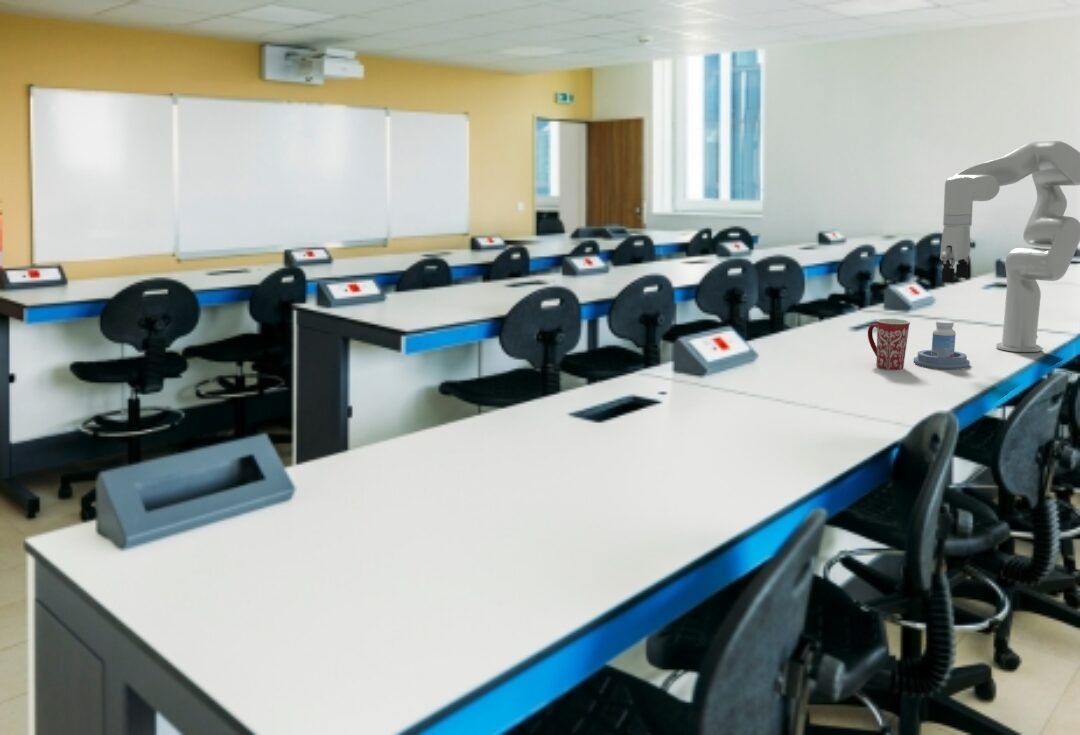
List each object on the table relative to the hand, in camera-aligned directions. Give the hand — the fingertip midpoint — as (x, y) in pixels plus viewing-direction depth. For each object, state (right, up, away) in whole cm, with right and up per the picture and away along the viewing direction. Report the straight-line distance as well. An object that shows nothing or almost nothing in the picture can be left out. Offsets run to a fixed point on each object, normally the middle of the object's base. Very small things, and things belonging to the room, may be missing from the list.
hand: (954, 279), depth 275 cm
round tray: (-5, -25, -2) cm, 25 cm away
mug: (-22, -25, -4) cm, 34 cm away
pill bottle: (-4, -24, -2) cm, 24 cm away
